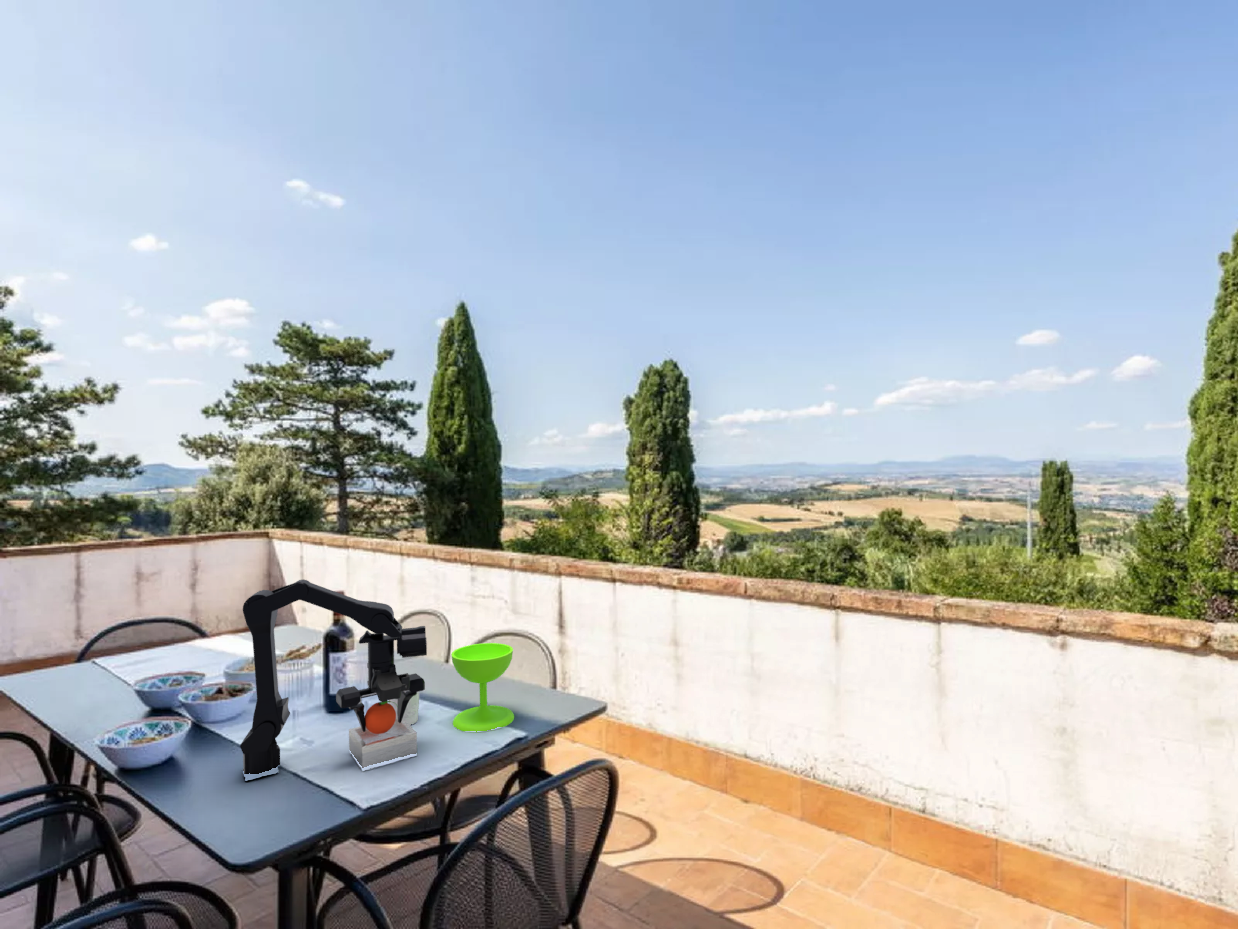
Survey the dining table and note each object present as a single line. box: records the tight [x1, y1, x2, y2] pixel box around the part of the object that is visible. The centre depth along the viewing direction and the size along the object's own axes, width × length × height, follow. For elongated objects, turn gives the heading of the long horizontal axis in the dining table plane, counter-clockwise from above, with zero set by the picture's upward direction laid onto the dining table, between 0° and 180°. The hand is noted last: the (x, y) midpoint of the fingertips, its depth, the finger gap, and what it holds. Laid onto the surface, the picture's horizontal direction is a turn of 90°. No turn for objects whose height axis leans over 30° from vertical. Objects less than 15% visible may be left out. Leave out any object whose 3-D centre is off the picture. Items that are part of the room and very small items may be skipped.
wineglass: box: [450, 642, 515, 733], centre depth 164 cm, size 16×16×18 cm
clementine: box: [364, 700, 398, 734], centre depth 145 cm, size 8×7×7 cm
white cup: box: [388, 691, 420, 726], centre depth 164 cm, size 8×8×10 cm
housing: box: [348, 717, 418, 768], centre depth 145 cm, size 12×12×6 cm
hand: (382, 726), depth 145 cm, fingers closed on clementine, 8 cm apart
